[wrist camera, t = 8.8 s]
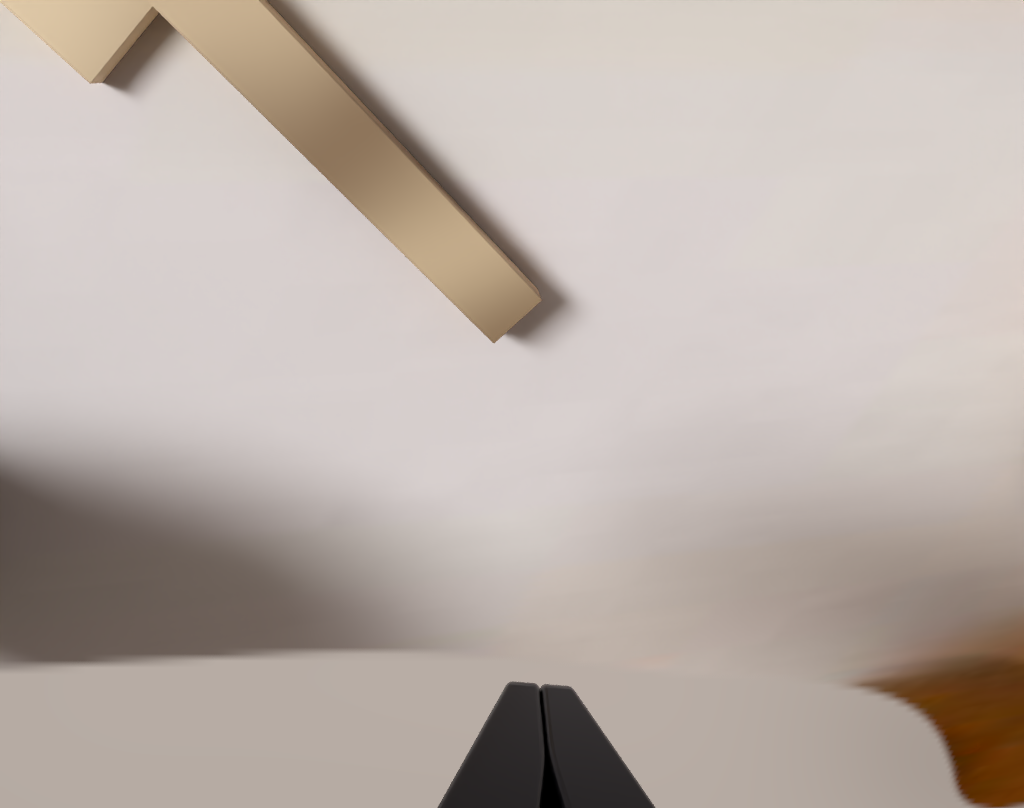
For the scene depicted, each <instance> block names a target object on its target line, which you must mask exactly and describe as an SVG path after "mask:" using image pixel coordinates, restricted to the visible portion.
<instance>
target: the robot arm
mask: <svg viewBox="0 0 1024 808" xmlns="http://www.w3.org/2000/svg"><path fill="white" fill-rule="evenodd" d="M438 808H655V807H654V805H653V804H652V802H651V801H650V799H649V798H648V796H647V795H646V793H645V792H644V791H643V789H642V788H641V786H640V785H639V783H638V782H637V780H636V779H635V778H634V776H633V775H632V773H631V772H630V770H629V769H628V767H627V766H626V764H625V763H624V762H623V760H622V759H621V757H620V756H619V755H618V753H617V751H616V750H615V749H614V747H613V746H612V744H611V743H610V741H609V740H608V738H607V737H606V736H605V735H604V733H603V731H602V730H601V728H600V727H599V726H598V724H597V723H596V721H595V720H594V718H593V717H592V715H591V714H590V712H589V711H588V710H587V708H586V707H585V705H584V704H583V702H582V701H581V700H580V698H579V697H578V695H577V694H576V692H575V691H574V690H573V689H572V688H571V687H569V686H560V685H549V684H544V685H542V686H541V688H539V687H538V685H537V684H535V683H524V682H509V683H508V684H507V685H506V687H505V689H504V690H503V692H502V694H501V696H500V697H499V699H498V701H497V703H496V704H495V706H494V708H493V710H492V712H491V713H490V715H489V717H488V719H487V720H486V722H485V724H484V726H483V728H482V729H481V731H480V733H479V735H478V737H477V738H476V740H475V742H474V744H473V746H472V747H471V749H470V751H469V753H468V754H467V756H466V758H465V760H464V762H463V763H462V766H461V767H460V769H459V770H458V772H457V774H456V776H455V778H454V779H453V781H452V783H451V785H450V787H449V789H448V790H447V792H446V794H445V795H444V797H443V799H442V801H441V803H440V804H439V806H438Z"/></svg>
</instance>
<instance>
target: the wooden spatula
mask: <svg viewBox="0 0 1024 808" xmlns="http://www.w3.org/2000/svg"><path fill="white" fill-rule="evenodd" d="M0 2H1V3H2V4H3V5H4V6H5V7H6V8H7V9H8V10H10V11H11V12H12V13H13V14H14V15H15V16H16V17H17V18H18V19H19V20H21V21H22V22H23V23H24V24H25V25H26V26H27V27H28V28H29V29H30V30H32V31H33V32H34V33H35V34H36V35H37V36H38V37H39V38H40V39H41V40H43V41H44V42H45V43H46V44H47V45H48V46H49V47H50V48H51V49H52V50H54V51H55V52H56V53H57V54H58V55H59V56H60V57H61V58H62V59H63V60H65V61H66V62H67V63H68V64H69V65H70V66H71V67H72V68H73V69H74V70H76V71H77V72H78V73H79V74H80V75H81V76H82V77H83V78H84V79H85V80H87V81H88V82H89V83H102V82H103V81H104V80H105V79H106V77H107V76H108V75H109V74H110V72H111V71H112V70H113V69H114V68H115V66H116V65H117V64H118V63H119V61H120V60H121V59H122V58H123V56H124V55H125V54H126V53H127V52H128V50H129V49H130V48H131V47H132V45H133V44H134V43H135V42H136V41H137V39H138V38H139V37H140V36H141V34H142V33H143V32H144V31H145V29H146V28H147V27H148V26H149V25H150V23H151V22H152V21H153V20H154V18H155V17H156V16H157V15H158V13H160V14H161V15H162V16H163V17H164V18H165V19H166V20H167V21H168V22H169V23H170V24H171V25H172V26H173V27H174V28H175V29H176V30H177V31H178V32H179V33H180V34H181V35H182V36H183V37H184V38H185V39H186V40H187V41H188V42H189V43H190V44H191V45H192V46H193V47H194V48H195V49H196V50H197V51H198V52H199V53H200V54H201V55H202V56H203V57H204V58H205V59H206V60H207V61H208V62H209V63H210V64H211V65H212V66H213V67H214V68H215V69H216V70H218V71H219V72H220V73H221V74H222V75H223V76H224V77H225V78H226V79H227V80H228V81H229V82H230V83H231V84H232V85H233V86H234V87H235V88H236V89H237V90H238V91H239V92H240V93H241V94H242V95H243V96H244V97H245V98H246V99H247V100H248V101H249V102H250V103H251V104H252V105H253V106H254V107H255V108H256V109H257V110H258V111H259V112H260V113H261V114H262V115H263V116H264V117H265V118H266V119H267V120H268V121H269V122H270V123H271V124H272V125H273V126H274V127H275V128H276V129H277V130H278V131H279V132H280V133H281V134H282V135H283V136H284V137H285V138H286V139H287V140H288V141H289V142H290V143H291V144H292V145H293V146H294V147H295V148H296V149H297V150H298V151H299V152H300V153H301V154H302V155H304V156H305V157H306V158H307V159H308V160H309V161H310V162H311V163H312V164H313V165H314V166H315V167H316V168H317V169H318V170H319V171H320V172H321V173H322V174H323V175H324V176H325V177H326V178H327V179H328V180H329V181H330V182H331V183H332V184H333V185H334V186H335V187H336V188H337V189H338V190H339V191H340V192H341V193H342V194H343V195H344V196H345V197H346V198H347V199H348V200H349V201H350V202H351V203H352V204H353V205H354V206H355V207H356V208H357V209H358V210H359V211H360V212H361V213H362V214H363V215H364V216H365V217H366V218H367V219H368V220H369V221H370V222H371V223H372V224H373V225H374V226H375V227H376V228H377V229H378V230H379V231H380V232H381V233H382V234H383V235H384V236H385V237H386V238H387V239H389V240H390V241H391V242H392V243H393V244H394V245H395V246H396V247H397V248H398V249H399V250H400V251H401V252H402V253H403V254H404V255H405V256H406V257H407V258H408V259H409V260H410V261H411V262H412V263H413V264H414V265H415V266H416V267H417V268H418V269H419V270H420V271H421V272H422V273H423V274H424V275H425V276H426V277H427V278H428V279H429V280H430V281H431V282H432V283H433V284H434V285H435V286H436V287H437V288H438V289H439V290H440V291H441V292H442V293H443V294H444V295H445V296H446V297H447V298H448V299H449V300H450V301H451V302H452V303H453V304H454V305H455V306H456V307H457V308H458V309H459V310H460V311H461V312H462V313H463V314H464V315H465V316H466V317H467V318H468V319H469V320H470V321H471V322H472V323H473V324H475V325H476V326H477V327H478V328H479V329H480V330H481V331H482V332H483V333H484V334H485V335H486V336H487V337H488V338H489V339H490V340H491V341H492V342H493V343H495V342H496V341H497V340H498V339H499V338H500V337H502V336H503V335H504V334H505V333H506V332H507V331H508V330H509V329H511V328H512V327H513V326H514V325H515V324H516V323H517V322H518V321H519V320H521V319H522V318H523V317H524V316H525V315H526V314H527V313H528V312H529V311H531V310H532V309H533V308H534V307H535V306H536V305H537V304H538V303H539V302H541V301H542V299H541V297H540V294H539V292H538V289H537V288H536V287H535V286H534V285H533V284H532V282H531V281H530V280H529V279H528V278H527V277H526V276H525V275H524V274H523V273H522V272H521V271H520V270H519V269H518V268H517V267H516V265H515V264H514V263H513V262H512V261H511V260H510V259H509V258H508V257H507V256H506V255H505V254H504V253H503V252H502V251H501V250H500V248H499V247H498V246H497V245H496V244H495V243H494V242H493V241H492V240H491V239H490V238H489V237H488V236H487V235H486V234H485V232H484V231H483V230H482V229H481V228H480V227H479V226H478V225H477V224H476V223H475V222H474V221H473V220H472V219H471V218H470V217H469V215H468V214H467V213H466V212H465V211H464V210H463V209H462V208H461V207H460V206H459V205H458V204H457V203H456V202H455V201H454V200H453V198H452V197H451V196H450V195H449V194H448V193H447V192H446V191H445V190H444V189H443V188H442V187H441V186H440V185H439V184H438V183H437V181H436V180H435V179H434V178H433V177H432V176H431V175H430V174H429V173H428V172H427V171H426V170H425V169H424V168H423V167H422V165H421V164H420V163H419V162H418V161H417V160H416V159H415V158H414V157H413V156H412V155H411V154H410V153H409V152H408V151H407V150H406V148H405V147H404V146H403V145H402V144H401V143H400V142H399V141H398V140H397V139H396V138H395V137H394V136H393V135H392V134H391V133H390V131H389V130H388V129H387V128H386V127H385V126H384V125H383V124H382V123H381V122H380V121H379V120H378V119H377V118H376V117H375V115H374V114H373V113H372V112H371V111H370V110H369V109H368V108H367V107H366V106H365V105H364V104H363V103H362V102H361V101H360V100H359V98H358V97H357V96H356V95H355V94H354V93H353V92H352V91H351V90H350V89H349V88H348V87H347V86H346V85H345V84H344V83H343V81H342V80H341V79H340V78H339V77H338V76H337V75H336V74H335V73H334V72H333V71H332V70H331V69H330V68H329V67H328V66H327V64H326V63H325V62H324V61H323V60H322V59H321V58H320V57H319V56H318V55H317V54H316V53H315V52H314V51H313V50H312V48H311V47H310V46H309V45H308V44H307V43H306V42H305V41H304V40H303V39H302V38H301V37H300V36H299V35H298V34H297V33H296V31H295V30H294V29H293V28H292V27H291V26H290V25H289V24H288V23H287V22H286V21H285V20H284V19H283V18H282V17H281V16H280V14H279V13H278V12H277V11H276V10H275V9H274V8H273V7H272V6H271V5H270V4H269V3H268V2H267V1H266V0H0Z"/></svg>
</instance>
